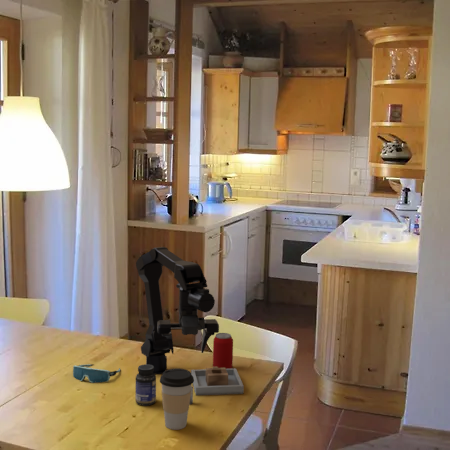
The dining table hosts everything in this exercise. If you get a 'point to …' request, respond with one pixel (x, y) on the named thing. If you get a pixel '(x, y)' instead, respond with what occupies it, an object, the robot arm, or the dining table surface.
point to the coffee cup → (176, 397)
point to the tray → (232, 388)
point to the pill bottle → (145, 385)
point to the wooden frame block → (216, 376)
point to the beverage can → (223, 351)
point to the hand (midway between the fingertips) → (187, 352)
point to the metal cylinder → (191, 396)
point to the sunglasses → (92, 373)
